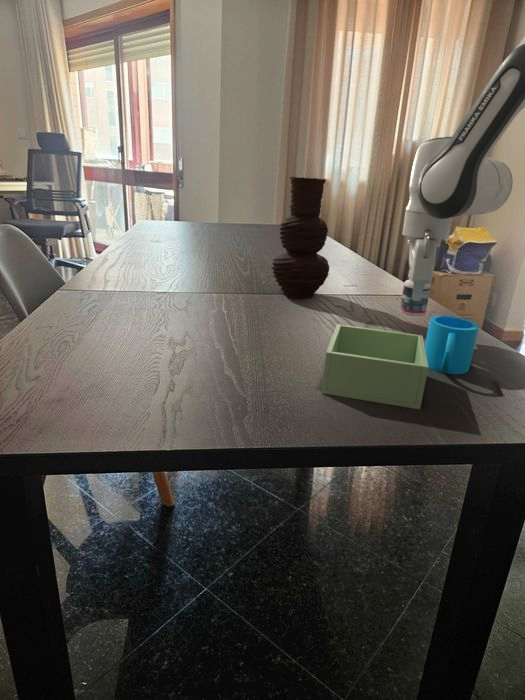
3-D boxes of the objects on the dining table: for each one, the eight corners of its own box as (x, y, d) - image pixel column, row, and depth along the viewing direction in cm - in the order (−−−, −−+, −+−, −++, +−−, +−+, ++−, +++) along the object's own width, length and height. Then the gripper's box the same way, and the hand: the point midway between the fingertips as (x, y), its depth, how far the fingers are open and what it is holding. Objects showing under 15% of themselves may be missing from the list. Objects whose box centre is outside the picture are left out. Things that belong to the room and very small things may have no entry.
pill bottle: (395, 309, 101) (402, 268, 98) (419, 309, 101) (425, 268, 98) (405, 316, 96) (412, 273, 93) (429, 316, 96) (437, 273, 93)
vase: (275, 285, 136) (282, 175, 125) (328, 291, 133) (340, 179, 122) (264, 298, 122) (272, 176, 111) (323, 305, 119) (337, 180, 108)
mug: (423, 353, 91) (431, 313, 88) (468, 361, 88) (478, 320, 85) (417, 375, 80) (426, 330, 77) (468, 386, 77) (479, 340, 74)
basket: (415, 371, 82) (422, 335, 79) (420, 409, 69) (428, 367, 66) (332, 359, 85) (336, 324, 83) (321, 393, 72) (326, 352, 69)
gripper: (448, 234, 82) (434, 310, 87) (439, 224, 101) (428, 287, 106) (411, 232, 84) (399, 306, 89) (408, 222, 102) (399, 284, 107)
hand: (415, 296), depth 97 cm, fingers closed on pill bottle, 5 cm apart
